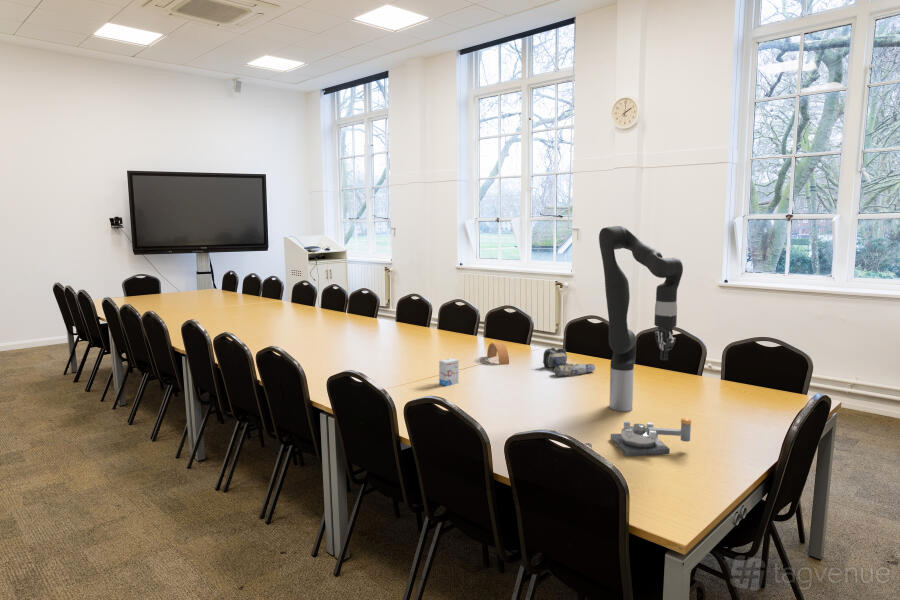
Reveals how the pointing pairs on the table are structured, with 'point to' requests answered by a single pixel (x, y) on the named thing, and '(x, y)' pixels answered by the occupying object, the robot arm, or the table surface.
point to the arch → (501, 351)
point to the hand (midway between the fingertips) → (663, 359)
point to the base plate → (639, 448)
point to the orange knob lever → (652, 433)
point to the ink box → (448, 371)
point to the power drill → (564, 363)
